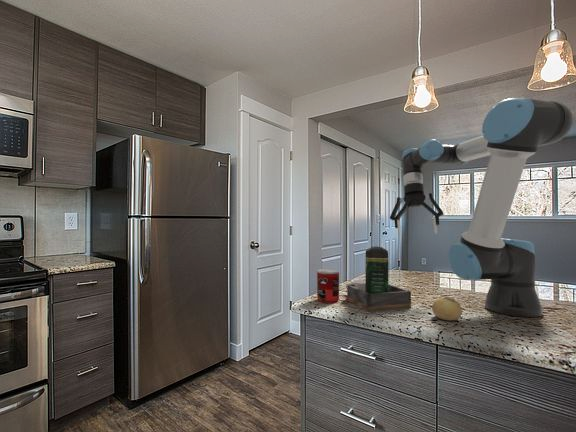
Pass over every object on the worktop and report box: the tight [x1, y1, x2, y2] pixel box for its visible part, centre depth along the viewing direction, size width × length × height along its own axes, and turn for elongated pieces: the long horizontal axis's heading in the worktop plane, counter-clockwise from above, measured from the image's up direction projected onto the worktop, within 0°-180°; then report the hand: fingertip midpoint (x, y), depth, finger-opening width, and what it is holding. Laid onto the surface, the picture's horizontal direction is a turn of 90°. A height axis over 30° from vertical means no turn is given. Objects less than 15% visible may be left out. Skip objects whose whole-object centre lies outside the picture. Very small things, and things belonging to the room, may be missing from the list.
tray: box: [345, 283, 412, 313], centre depth 108 cm, size 16×16×6 cm
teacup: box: [345, 278, 366, 291], centre depth 121 cm, size 10×8×5 cm
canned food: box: [316, 268, 340, 304], centre depth 113 cm, size 8×8×11 cm
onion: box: [431, 296, 463, 321], centre depth 92 cm, size 8×8×7 cm
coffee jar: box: [364, 245, 390, 294], centre depth 109 cm, size 10×8×19 cm
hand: (417, 234), depth 123 cm, fingers open, 13 cm apart
